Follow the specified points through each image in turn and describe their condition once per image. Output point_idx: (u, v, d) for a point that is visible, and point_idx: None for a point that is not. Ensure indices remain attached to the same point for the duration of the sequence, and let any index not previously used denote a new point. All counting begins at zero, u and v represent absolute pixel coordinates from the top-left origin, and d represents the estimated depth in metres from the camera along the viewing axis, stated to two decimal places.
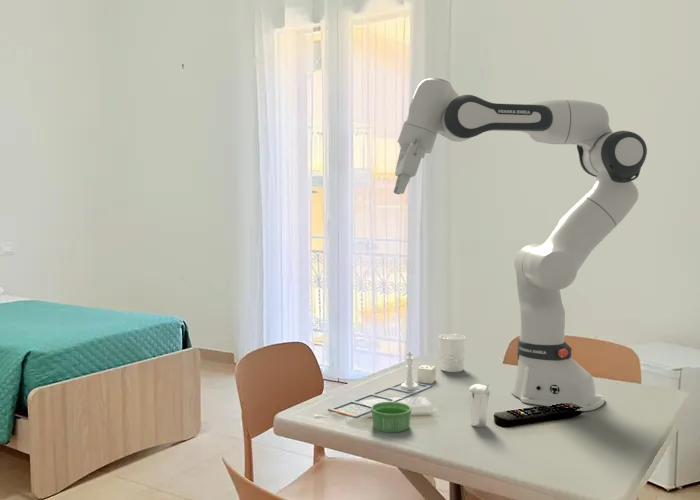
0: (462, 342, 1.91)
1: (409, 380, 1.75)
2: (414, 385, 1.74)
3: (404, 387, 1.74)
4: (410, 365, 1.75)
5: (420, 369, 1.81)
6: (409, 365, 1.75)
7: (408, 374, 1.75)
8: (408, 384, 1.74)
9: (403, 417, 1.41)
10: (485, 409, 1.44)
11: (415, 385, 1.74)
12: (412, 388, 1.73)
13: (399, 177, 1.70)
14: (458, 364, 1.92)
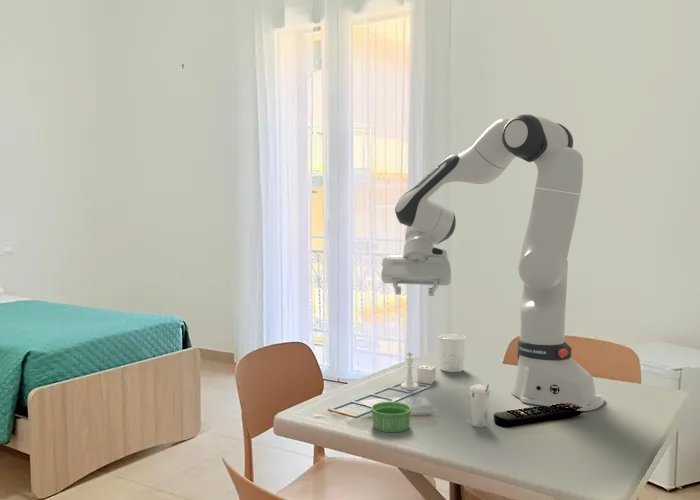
0: (462, 342, 1.91)
1: (409, 380, 1.75)
2: (414, 385, 1.74)
3: (404, 387, 1.74)
4: (410, 365, 1.75)
5: (420, 369, 1.81)
6: (409, 365, 1.75)
7: (408, 374, 1.75)
8: (408, 384, 1.74)
9: (403, 417, 1.41)
10: (485, 409, 1.44)
11: (415, 385, 1.74)
12: (412, 388, 1.73)
13: None
14: (458, 364, 1.92)
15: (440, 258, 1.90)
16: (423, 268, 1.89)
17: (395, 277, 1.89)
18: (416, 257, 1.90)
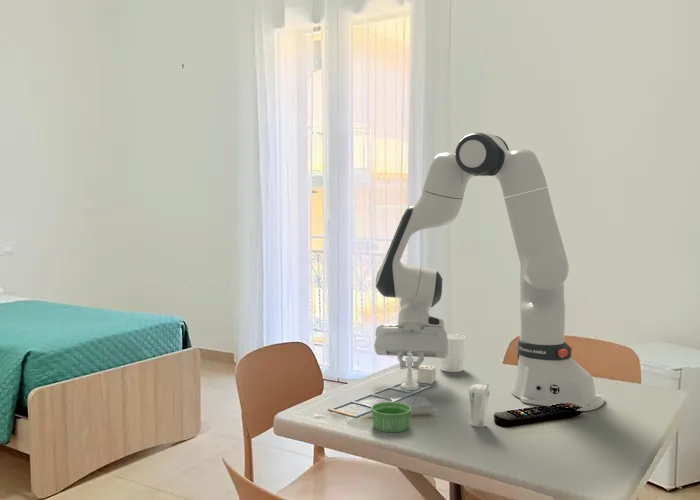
0: (462, 342, 1.91)
1: (409, 380, 1.75)
2: (414, 385, 1.74)
3: (404, 387, 1.74)
4: (410, 365, 1.75)
5: (420, 369, 1.81)
6: (409, 365, 1.75)
7: (408, 374, 1.75)
8: (408, 384, 1.74)
9: (403, 417, 1.41)
10: (485, 409, 1.44)
11: (415, 385, 1.74)
12: (412, 388, 1.73)
13: None
14: (458, 364, 1.92)
15: (437, 328, 1.79)
16: (419, 339, 1.78)
17: (389, 349, 1.78)
18: (411, 327, 1.79)
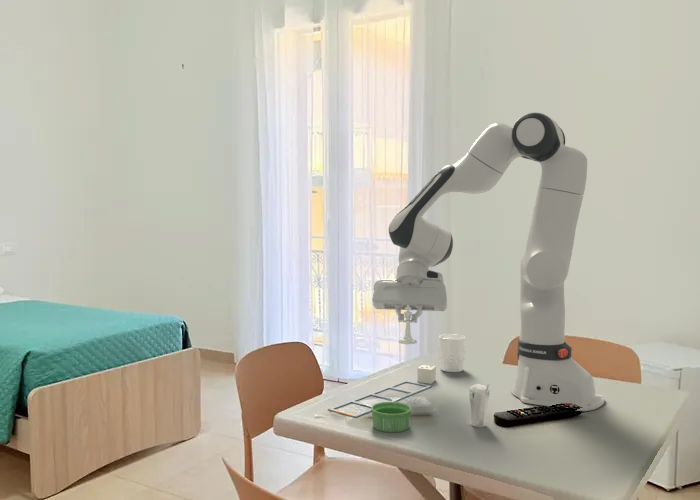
0: (462, 342, 1.91)
1: (407, 334, 1.73)
2: (412, 339, 1.73)
3: (402, 341, 1.72)
4: (408, 320, 1.73)
5: (420, 369, 1.81)
6: (407, 319, 1.73)
7: (406, 328, 1.73)
8: (406, 339, 1.73)
9: (403, 416, 1.41)
10: (485, 409, 1.44)
11: (413, 339, 1.73)
12: (410, 342, 1.72)
13: (417, 309, 1.76)
14: (458, 364, 1.92)
15: (435, 282, 1.77)
16: (417, 293, 1.76)
17: (387, 303, 1.76)
18: (409, 281, 1.78)
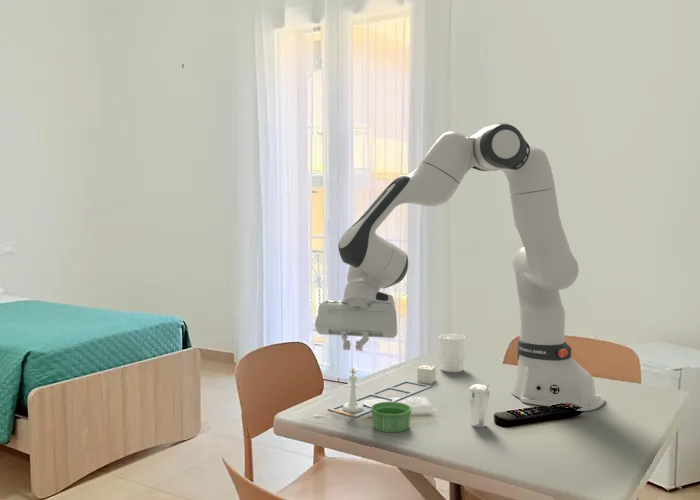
0: (462, 342, 1.91)
1: (352, 401, 1.56)
2: None
3: (346, 408, 1.56)
4: (354, 384, 1.56)
5: (420, 369, 1.81)
6: (352, 384, 1.56)
7: (351, 394, 1.57)
8: (350, 406, 1.56)
9: (403, 417, 1.41)
10: (485, 409, 1.44)
11: (359, 406, 1.56)
12: (355, 410, 1.55)
13: None
14: (458, 364, 1.92)
15: (385, 305, 1.59)
16: (364, 317, 1.59)
17: (331, 328, 1.58)
18: (356, 304, 1.60)
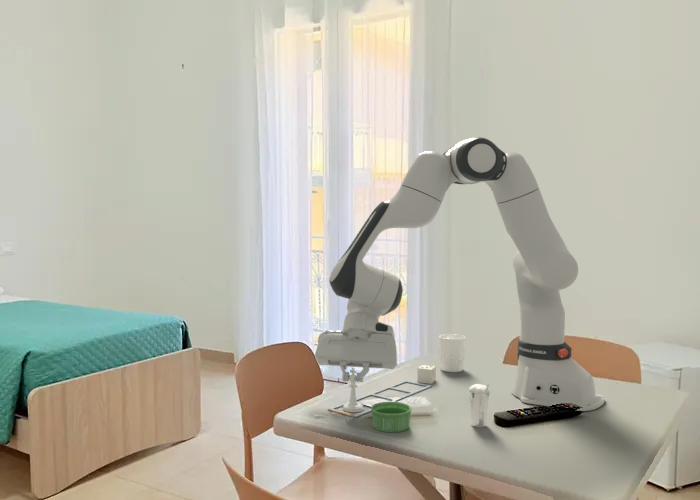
0: (462, 342, 1.91)
1: (352, 401, 1.56)
2: None
3: (346, 409, 1.56)
4: (354, 384, 1.56)
5: (420, 369, 1.81)
6: (352, 384, 1.56)
7: (351, 394, 1.57)
8: (351, 406, 1.56)
9: (403, 416, 1.41)
10: (485, 409, 1.44)
11: (359, 406, 1.56)
12: (355, 410, 1.55)
13: None
14: (458, 364, 1.92)
15: (384, 336, 1.60)
16: (364, 348, 1.59)
17: (331, 359, 1.59)
18: (356, 334, 1.61)
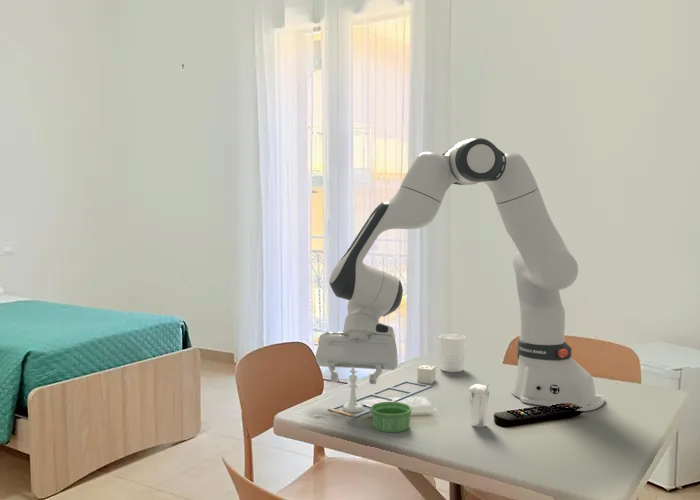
0: (462, 342, 1.91)
1: (352, 401, 1.56)
2: None
3: (346, 409, 1.56)
4: (354, 384, 1.56)
5: (420, 369, 1.81)
6: (352, 384, 1.56)
7: (351, 394, 1.57)
8: (351, 406, 1.56)
9: (403, 417, 1.41)
10: (485, 409, 1.44)
11: (359, 406, 1.56)
12: (355, 410, 1.55)
13: None
14: (458, 364, 1.92)
15: (385, 337, 1.60)
16: (364, 349, 1.59)
17: (331, 360, 1.59)
18: (357, 336, 1.61)
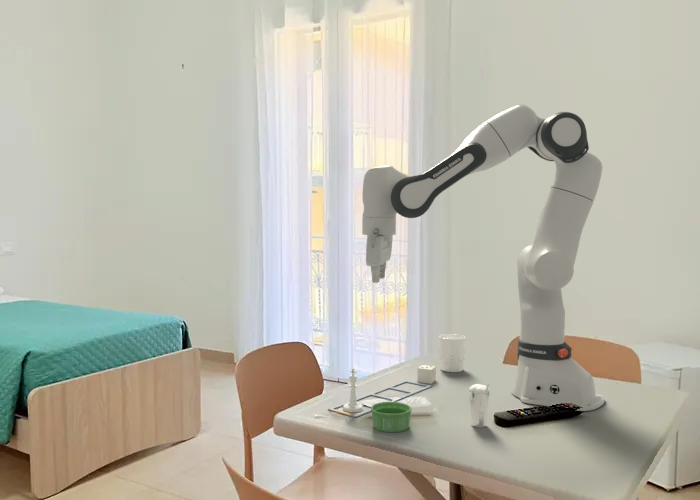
0: (462, 342, 1.91)
1: (352, 401, 1.56)
2: None
3: (346, 409, 1.56)
4: (354, 384, 1.56)
5: (420, 369, 1.81)
6: (352, 384, 1.56)
7: (351, 394, 1.57)
8: (351, 406, 1.56)
9: (403, 416, 1.41)
10: (485, 409, 1.44)
11: (359, 406, 1.56)
12: (355, 410, 1.55)
13: None
14: (458, 364, 1.92)
15: (392, 236, 1.78)
16: (386, 249, 1.74)
17: (380, 264, 1.66)
18: (390, 239, 1.71)
